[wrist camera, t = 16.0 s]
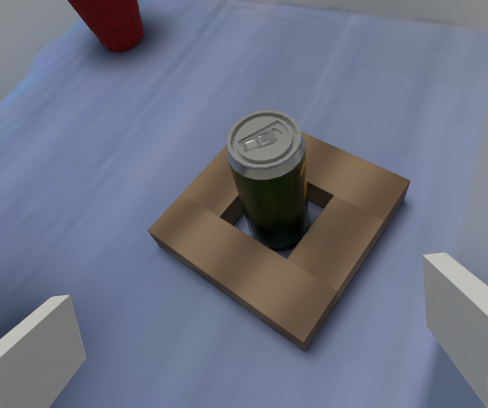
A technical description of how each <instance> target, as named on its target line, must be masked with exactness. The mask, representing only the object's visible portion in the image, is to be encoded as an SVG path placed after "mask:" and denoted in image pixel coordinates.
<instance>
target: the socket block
mask: <svg viewBox="0 0 488 408" xmlns="http://www.w3.org/2000/svg"><path fill="white" fill-rule="evenodd" d="M301 133H302V135H303V138H304V140H305V150H306V172H307V195H308V200H309V201H311V202H313V203H315V204H317V205H319V206H320V207H322V208H324V210H323V211H322V212H321V214H320V215H319V216H318V218H317V219H316V220H315V222H314V223H313V225H312V226H311V227H310V229H309V230H308V231H307V233H306V234H305V235H304V237H303V238H302V239H301V241H300V242H299V243H298V245H297V246H296V247H295V249H294V250H293V252H292V253H291V254H290V256H289V257H288V258H287V259H286V258H284V257H282V256H281V255H279V254H278V253H276V252H274V251H273V250H271V249H270V248H268V247H266V246H265V245H263V244H262V243H260V242H258V241H257V240H255V239H253V238H252V237H250V236H249V235H247V234H245V233H244V232H242V231H241V230H239V229H237V228H236V227H234V226H233V224H234V223H235V222H236V221H237V219H238V218H239V217H240V216H241V215H242V213H243V212H244V210H243V207H242V203H241V200H240V197H239V194H238V191H237V188H236V184H235V181H234V178H233V175H232V172H231V169H230V165H229V162H228V158H227V153H226V151H227V145H226V146H225V147H224V149H223V150H222V151H221V152H220V153H219V154H218V155H217V156H216V157H215V158H214V159H213V160H212V162H211V163H210V164H209V165H208V166H207V167H206V168H205V169H204V170H203V171H202V172H201V173H200V175H199V176H198V177H197V178H196V179H195V180H194V181H193V182H192V183H191V184H190V185H189V186H188V187H187V189H186V190H185V191H184V192H183V193H182V194H181V195H180V196H179V197H178V198H177V199H176V200H175V202H174V203H173V204H172V205H171V206H170V207H169V208H168V209H167V210H166V211H165V212H164V213H163V215H162V216H161V217H160V218H159V219H158V220H157V221H156V222H155V223H154V224H153V225H152V226H151V228H150V229H149V230H148V232H149V233H150V235H151V236H152V237H153V238H154V240H155V241H156V242H157V244H158V245H159V246H160V247H162V248H163V249H164V250H166V251H167V252H168V253H170V254H171V255H173V256H174V257H175V258H177V259H178V260H179V261H181V262H182V263H184V264H185V265H186V266H188V267H189V268H190V269H192V270H193V271H195V272H196V273H197V274H199V275H200V276H201V277H203V278H204V279H206V280H207V281H208V282H210V283H211V284H212V285H214V286H215V287H217V288H218V289H219V290H221V291H222V292H223V293H225V294H226V295H228V296H229V297H230V298H232V299H233V300H234V301H236V302H237V303H239V304H240V305H241V306H243V307H244V308H245V309H247V310H248V311H250V312H251V313H252V314H254V315H255V316H256V317H258V318H259V319H261V320H262V321H263V322H265V323H266V324H267V325H269V326H270V327H272V328H273V329H274V330H276V331H277V332H278V333H280V334H281V335H283V336H284V337H285V338H287V339H288V340H290V341H291V342H292V343H294V344H295V345H296V346H298V347H299V348H301V349H302V350H303V351H305V350H306V349H307V347H308V346H309V344H310V343H311V341H312V339H313V338H314V336H315V335H316V333H317V332H318V330H319V329H320V327H321V326H322V324H323V323H324V321H325V320H326V318H327V317H328V315H329V314H330V312H331V310H332V309H333V307H334V306H335V304H336V303H337V301H338V300H339V298H340V297H341V295H342V294H343V292H344V291H345V289H346V288H347V286H348V284H349V283H350V281H351V280H352V278H353V277H354V275H355V274H356V272H357V271H358V269H359V268H360V266H361V265H362V263H363V262H364V260H365V259H366V257H367V255H368V254H369V252H370V251H371V249H372V248H373V246H374V245H375V243H376V242H377V240H378V239H379V237H380V236H381V234H382V233H383V231H384V230H385V228H386V226H387V225H388V223H389V222H390V220H391V219H392V217H393V216H394V214H395V213H396V211H397V210H398V208H399V207H400V205H401V204H402V202H403V200H404V198H405V195H406V192H407V189H408V187H409V184H410V180H408V179H405V178H403V177H401V176H399V175H397V174H394V173H392V172H390V171H388V170H385V169H383V168H381V167H379V166H377V165H374V164H372V163H370V162H368V161H365V160H363V159H361V158H359V157H356V156H354V155H352V154H350V153H348V152H345V151H343V150H341V149H339V148H336V147H334V146H332V145H330V144H327V143H325V142H323V141H321V140H319V139H316V138H314V137H312V136H310V135H307V134H305V133H303V132H301Z"/></svg>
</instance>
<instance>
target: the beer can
mask: <svg viewBox="0 0 488 408" xmlns="http://www.w3.org/2000/svg"><path fill="white" fill-rule="evenodd" d="M226 153H227V158H228V162H229V165H230V169H231V172H232V175H233V178H234V181H235V184H236V188H237V191H238V194H239V197H240V200H241V203H242V207H243V210H244V213H245V216H246V219H247V223H248V226H249V229H250V232H251V233H252V235H253V236H254V238H255V239H256V240H257V241H259V242H260V243H262V244H263V245H266V246H269V247H272V248H284V247H288V246H290V245H292V244H294V243H296V242H297V241H299V240H300V238H301V237H302V236H303V235H304V234H305V232H306V230H307V227H308V218H309V217H308V195H307V172H306V150H305V140H304V138H303V135H302V133H301V131H300V128H299V125H298V124H297V122H296V121H295V120H294V119H293V118H292V117H290V116H289V115H287V114H285V113H283V112H279V111H274V110H261V111H257V112H253V113H250V114H248V115H246V116H244V117H243V118H241V119H240V120H239V121H237V122H236V123H235V124H234V125H233V127H232V128H231V130H230V132H229V133H228V138H227V151H226Z"/></svg>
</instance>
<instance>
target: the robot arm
mask: <svg viewBox="0 0 488 408" xmlns="http://www.w3.org/2000/svg"><path fill="white" fill-rule="evenodd" d="M423 268H424V286H425V304H426V322H427V327H428V328H429V330H430V331H431V332H432V334H433V335H434V337H435V338H436V339H437V341H438V342H439V343H440V345H441V346H442V347H443V349H444V350H445V351H446V353H447V354H448V356H449V357H450V358H451V360H452V361H453V362H454V364H455V365H456V366H457V368H458V369H459V371H460V372H461V373H462V375H463V376H464V377H465V379H466V380H467V382H468V383H469V384H470V386H471V387H472V388H473V390H474V391H475V393H476V394H477V395H478V397H479V398H480V399H481V401H482V402H483V404H484V405H485V406H486V408H488V286H486V285H485V284H484V283H483V282H482V281H480V280H479V279H478V278H477V277H475V276H474V275H473V274H471V273H470V272H469V271H468V270H467V269H465V268H464V267H463V266H462V265H460V264H459V263H458V262H457V261H455V260H454V259H453V258H452V257H450V256H449V255H448V254H447V253H437V254H428V255H423ZM86 359H87V357H86V353H85V349H84V346H83V342H82V338H81V334H80V330H79V326H78V322H77V319H76V315H75V311H74V307H73V303H72V299H71V295H62V296H53V297H51V298H49V299H48V300H47V301H46V302H45V303H43V304H42V305H41V306H40V307H39V308H37V309H36V310H35V311H34V312H33V313H31V314H30V315H29V316H28V317H26V318H25V319H24V320H23V321H22V322H20V323H19V324H18V325H17V326H16V327H14V328H13V329H12V330H11V331H10V332H8V333H7V334H6V335H5V336H4V337H2V338H1V339H0V408H49V407H50V406H51V405H52V403H53V402H54V401H55V399H56V398H57V397H58V395H59V394H60V393H61V392H62V390H63V389H64V388H65V386H66V385H67V384H68V382H69V381H70V380H71V378H72V377H73V376H74V374H75V373H76V372H77V370H78V369H79V368H80V366H81V365H82V364H83V363H84V361H85V360H86Z"/></svg>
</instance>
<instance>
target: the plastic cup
mask: <svg viewBox="0 0 488 408" xmlns="http://www.w3.org/2000/svg"><path fill="white" fill-rule="evenodd" d="M68 1H69V3H70V4H71V5H72V7H73V8H74V9H75V10H76V12H77V13H78V14H79V15H80V17H81V18H82V19H83V21H84V22H85V23H86V24H87V26H88V27H89V28H90V29H91V31H93V32H94V34H95V35H96V36H97V38H98V39H99V40H100V42H101V43H102V44H103V46H105V47H106V48H107V49H108V50H110V51H112V52H121V51H126V50H129V49H131V48H133V47H135V46H136V45H137V44H138V43H139V42H140V41H141V40H142V38H143V25H142V21H141V17H140V13H139V5H138V1H137V0H68Z"/></svg>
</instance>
